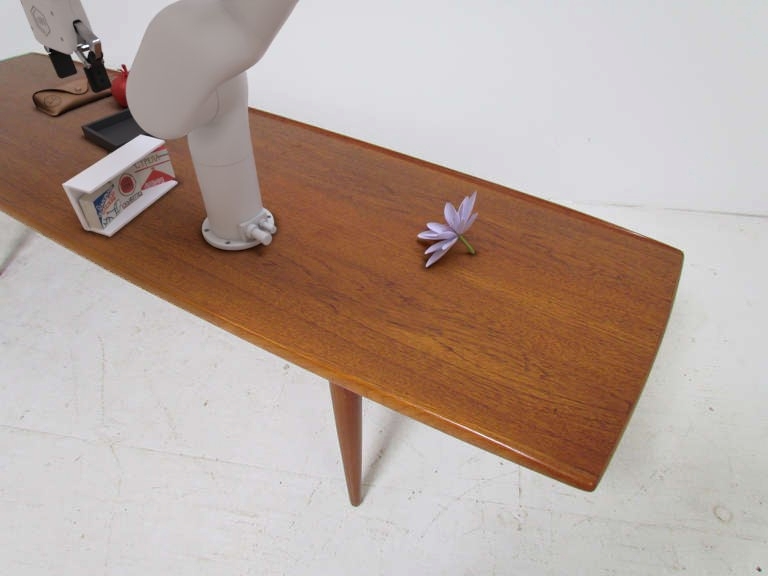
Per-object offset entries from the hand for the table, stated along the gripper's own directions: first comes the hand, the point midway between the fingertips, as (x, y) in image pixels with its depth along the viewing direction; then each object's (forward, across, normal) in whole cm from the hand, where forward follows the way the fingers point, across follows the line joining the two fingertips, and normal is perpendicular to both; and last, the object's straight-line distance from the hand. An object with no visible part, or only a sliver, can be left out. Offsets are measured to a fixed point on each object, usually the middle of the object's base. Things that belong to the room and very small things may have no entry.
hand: (85, 82), depth 83 cm
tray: (+21, -18, +18) cm, 33 cm away
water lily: (+22, +59, +22) cm, 67 cm away
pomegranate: (+21, -31, +24) cm, 44 cm away
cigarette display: (+21, +5, -2) cm, 22 cm away
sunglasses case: (+20, -43, +17) cm, 51 cm away
